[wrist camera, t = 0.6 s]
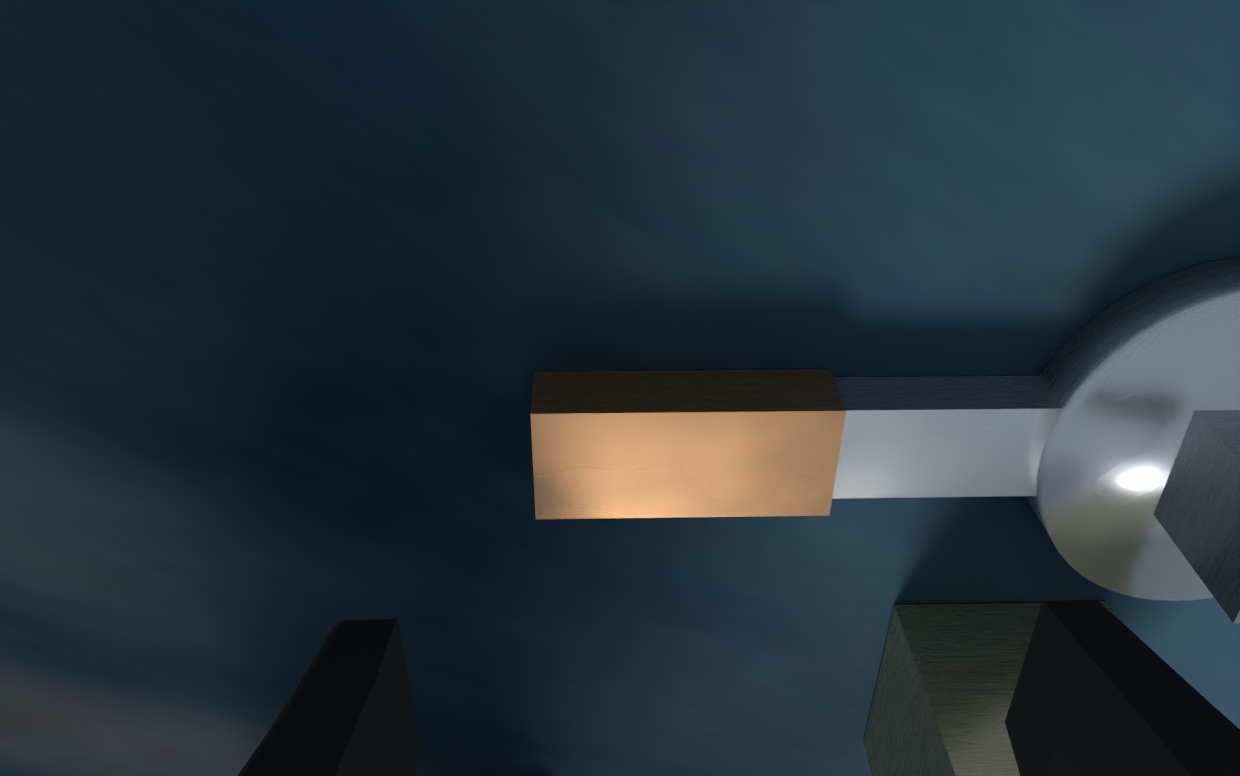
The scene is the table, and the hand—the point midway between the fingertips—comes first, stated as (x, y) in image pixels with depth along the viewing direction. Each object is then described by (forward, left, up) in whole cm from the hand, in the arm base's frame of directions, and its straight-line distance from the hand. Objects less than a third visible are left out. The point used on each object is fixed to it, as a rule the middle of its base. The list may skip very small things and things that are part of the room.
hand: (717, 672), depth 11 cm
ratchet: (-3, -6, -9) cm, 12 cm away
